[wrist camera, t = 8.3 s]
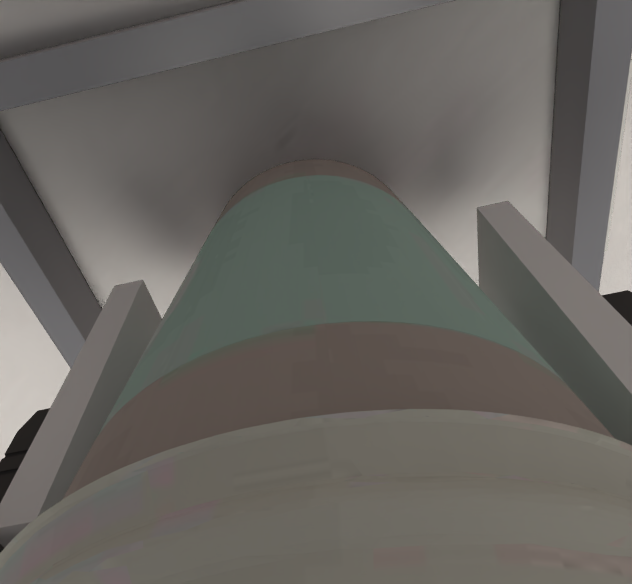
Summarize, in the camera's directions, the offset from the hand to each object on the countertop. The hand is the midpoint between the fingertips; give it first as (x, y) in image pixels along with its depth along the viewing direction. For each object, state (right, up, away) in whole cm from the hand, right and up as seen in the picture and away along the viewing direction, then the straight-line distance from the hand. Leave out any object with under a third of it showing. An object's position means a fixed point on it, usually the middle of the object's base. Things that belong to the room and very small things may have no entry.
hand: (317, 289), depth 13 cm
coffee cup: (0, +1, +2) cm, 2 cm away
